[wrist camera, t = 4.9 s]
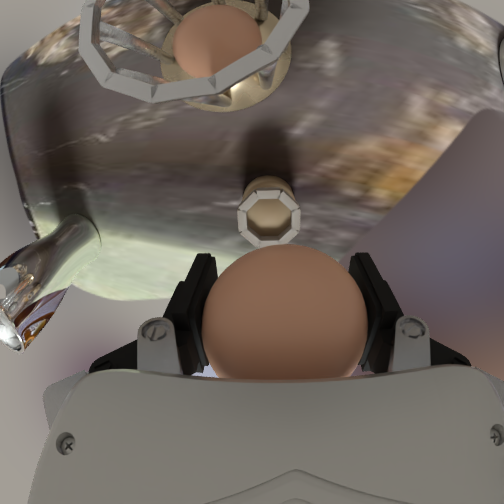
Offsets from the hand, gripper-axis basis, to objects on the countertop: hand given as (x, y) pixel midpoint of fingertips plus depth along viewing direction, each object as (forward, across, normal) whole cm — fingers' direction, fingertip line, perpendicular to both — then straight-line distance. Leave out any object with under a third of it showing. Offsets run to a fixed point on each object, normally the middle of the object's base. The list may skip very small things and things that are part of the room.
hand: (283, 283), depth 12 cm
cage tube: (+13, +4, -12) cm, 18 cm away
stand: (+13, +1, 0) cm, 13 cm away
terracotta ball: (-3, 0, 0) cm, 3 cm away
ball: (+9, +4, -13) cm, 16 cm away
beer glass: (+12, +22, +4) cm, 25 cm away
